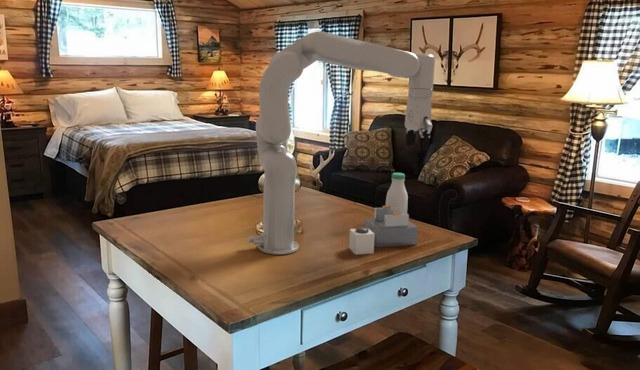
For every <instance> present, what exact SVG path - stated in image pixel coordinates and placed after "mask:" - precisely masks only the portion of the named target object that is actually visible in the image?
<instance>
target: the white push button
mask: <svg viewBox="0 0 640 370" xmlns="http://www.w3.org/2000/svg"><path fill="white" fill-rule="evenodd" d="M374 236H375V234H374V233H373V232H372V231H371V230H370V229H368V228H365V227H364V226H358V227H356V228H349V244H348V249H350V251H351V252H352V253H353V255H355V254H356V255H369V254H374V252H375V245H374Z"/></svg>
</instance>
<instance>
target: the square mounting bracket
mask: <svg viewBox="0 0 640 370" xmlns="http://www.w3.org/2000/svg"><path fill="white" fill-rule="evenodd" d="M409 219H410V215H409V213H407V214H401V213H400V212H398V207H391V206H386V205H382V207H374V217H373V218H364V226H363V227H365V228H368V229H370V230H371V231H372V232H373V233H374V234H375V236H374V247H376V248H386V247H401V246H403V247H404V246H417V245H418V236H419V235H418V234H419V233H418V232H419V226H417V224H414V222H412V221H410V220H409Z"/></svg>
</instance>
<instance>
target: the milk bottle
mask: <svg viewBox="0 0 640 370" xmlns="http://www.w3.org/2000/svg"><path fill="white" fill-rule="evenodd" d="M405 178H406V175H405V173H403V172H393V173H391V184H390V187H389V189H388V190H387V194H386V198H385V206H391V207H398V212H400V213H401V214H408V204H409V203H408V201H409V200H408V199H409V196H408V192H407V189H406V186H405V180H406V179H405Z"/></svg>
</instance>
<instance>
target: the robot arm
mask: <svg viewBox="0 0 640 370" xmlns="http://www.w3.org/2000/svg"><path fill="white" fill-rule="evenodd" d="M317 61H318V62H321V63H322V62H323V63H327V64H330V65H335V66H339V67H344V68H347V69H352V70H359V71H365V72H366V71H368V72H369V71H370V72H376V73H383V74H388V76H390V77H394V78H399V79H400V78H402V79H408V94H407V103H406V109H405V116H404V127H405V146H408V147H409V146H411V147H412V146H415V145H416V138H417V137H416V134H417V133H416V132H417V131H418V132H419V136H420V137H419V138H418V150H419V151H429V147H430V138H431V134H432V129H433V124H432V100H433V93H434V80H435V79H434V78H435V77H434V76H435V67H436V65H435V64H436V59H435V56H434V55H433V54H429V53H428V54H427V53H416V54H415V53H413V52H410V51H405V50H402V49H397V48H392V47H390V46H384V45H381V44H377V43H376V44H375V43H372V42H369V41H363V40H360V39H356V38H355V39H354V38H352V37H351V38H350V37H347V36H343V35H340V34H339V35H338V34H334V33H331V32H327V31H326V32H325V31H314V32H309V33H307V34H305V35H304V36H303V37H301V38H300V39H298V40H295V42H293V43H292V44H290V45H288V46H287V47H285V48H283V49H282V50H281V49H280V50H279V51H278V52H276V53H275V54H273V56H272V57H271V58H270V62H269V65H268V66H267V67H266V69H265V70H264V72H263V74H262V76H261V78H260V83H259V88H258V99H259V112H260V113H259V115H258V117H257V119H256V121H255V136H256V146H257V147H256V148H257V154H258V161H259V165H260V166H261V168H262V169H263V171H264V181H263V217H262V218H263V223H262V224H263V231H262V232H261V234H260V235H259V234H258V236H248V237H247V242H248V243H249V244H250V243H251V244H252V243H253V245H258V247H257V248H258V250H259V251H260V252H262V253H265V254H268V255H269V254H270V255H288V254H292V253H295V252H297V251H298V250H299V246H300V245H299V242H297V241H295V239H294V238H295V205H296V204H295V202H296V201H295V200H296V199H295V197H296V196H295V193H296V192H295V190H296V181H297V173H298V172H297V171H298V167H297V161H296V160H297V159H296V158H295V156H294V155H293V154H292V153H291V151H289V150H288V142H287V141H288V139H289V138H290V136H291V132H292V125H291V118H290V107H289V92H290V88H291V86H292V84H293V83H294V82H295V81H296V80H297V79H299V78H300V77H301V75H302V74H303V72H304V69H306V68H308V67H309V66H311V65H312V64H314V63H315V62H317Z"/></svg>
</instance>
